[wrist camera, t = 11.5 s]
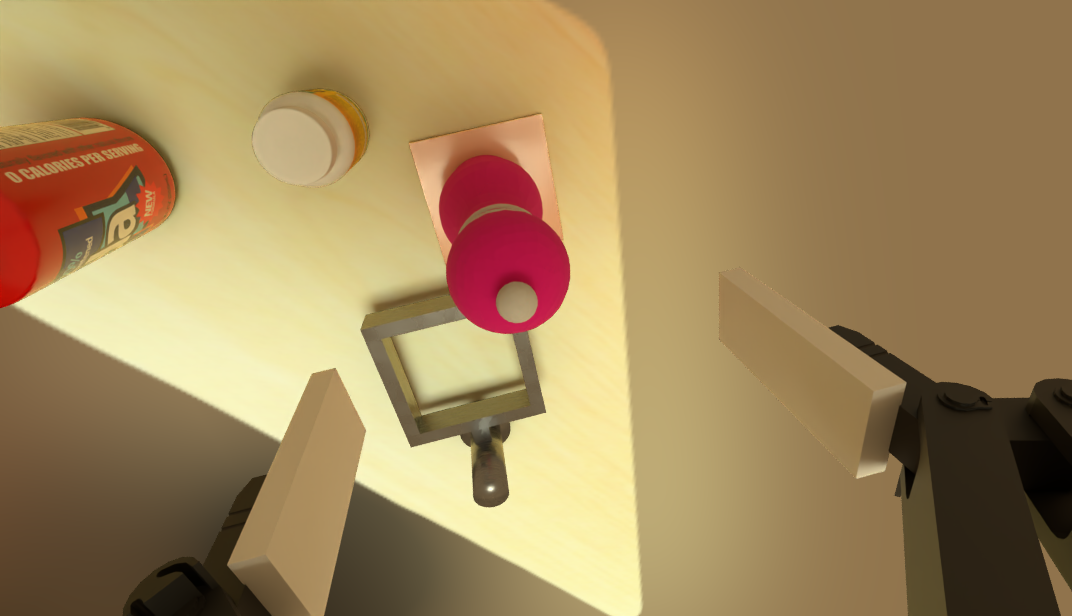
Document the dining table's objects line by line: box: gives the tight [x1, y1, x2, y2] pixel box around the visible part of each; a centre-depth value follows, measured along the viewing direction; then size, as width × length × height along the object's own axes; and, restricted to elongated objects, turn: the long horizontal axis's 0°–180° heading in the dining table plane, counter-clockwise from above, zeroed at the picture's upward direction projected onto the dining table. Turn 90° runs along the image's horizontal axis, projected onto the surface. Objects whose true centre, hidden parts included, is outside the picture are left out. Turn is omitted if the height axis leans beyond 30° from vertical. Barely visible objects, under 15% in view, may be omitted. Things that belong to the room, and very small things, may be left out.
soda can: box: [0, 118, 175, 308], centre depth 26 cm, size 8×8×15 cm
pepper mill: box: [439, 155, 570, 334], centre depth 28 cm, size 7×7×20 cm
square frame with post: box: [361, 295, 546, 507], centre depth 41 cm, size 18×12×9 cm
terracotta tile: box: [409, 113, 563, 264], centre depth 37 cm, size 10×10×1 cm
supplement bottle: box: [252, 89, 369, 187], centre depth 29 cm, size 5×5×10 cm
